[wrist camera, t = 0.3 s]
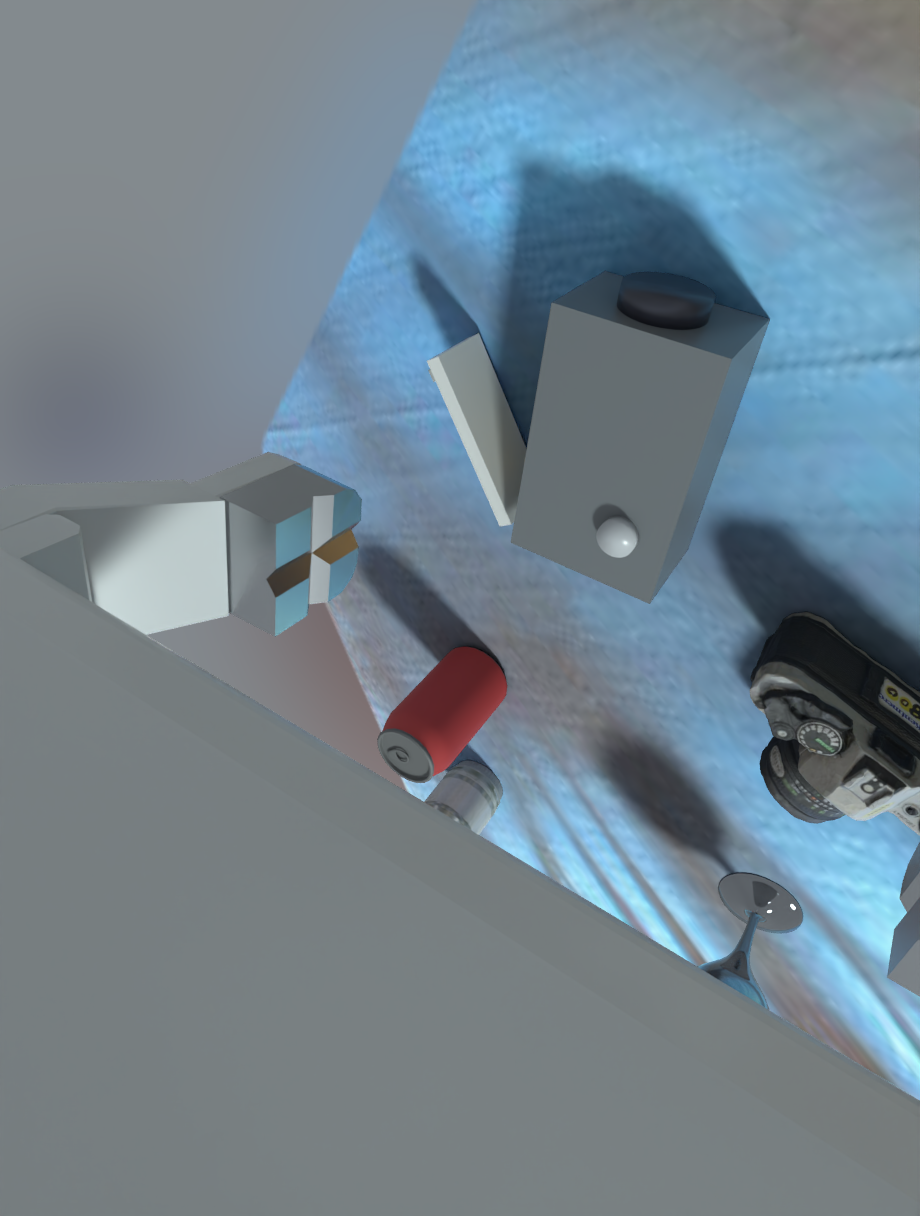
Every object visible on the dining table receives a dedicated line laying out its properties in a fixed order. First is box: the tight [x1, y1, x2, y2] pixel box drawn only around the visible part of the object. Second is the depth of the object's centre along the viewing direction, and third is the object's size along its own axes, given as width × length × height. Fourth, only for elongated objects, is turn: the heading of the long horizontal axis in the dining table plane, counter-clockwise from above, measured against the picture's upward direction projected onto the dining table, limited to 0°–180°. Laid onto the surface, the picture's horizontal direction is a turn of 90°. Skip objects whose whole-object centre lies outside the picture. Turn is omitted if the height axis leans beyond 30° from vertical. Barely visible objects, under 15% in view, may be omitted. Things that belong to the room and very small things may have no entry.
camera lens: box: [425, 760, 503, 835], centre depth 79 cm, size 6×6×8 cm
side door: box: [427, 333, 527, 527], centre depth 54 cm, size 12×2×5 cm, turn 29°
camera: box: [750, 612, 920, 835], centre depth 50 cm, size 16×10×10 cm, turn 67°
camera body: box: [511, 271, 770, 604], centre depth 47 cm, size 17×10×8 cm, turn 174°
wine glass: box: [697, 873, 803, 1010], centre depth 64 cm, size 8×8×15 cm
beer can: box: [378, 646, 507, 783], centre depth 69 cm, size 7×7×12 cm
